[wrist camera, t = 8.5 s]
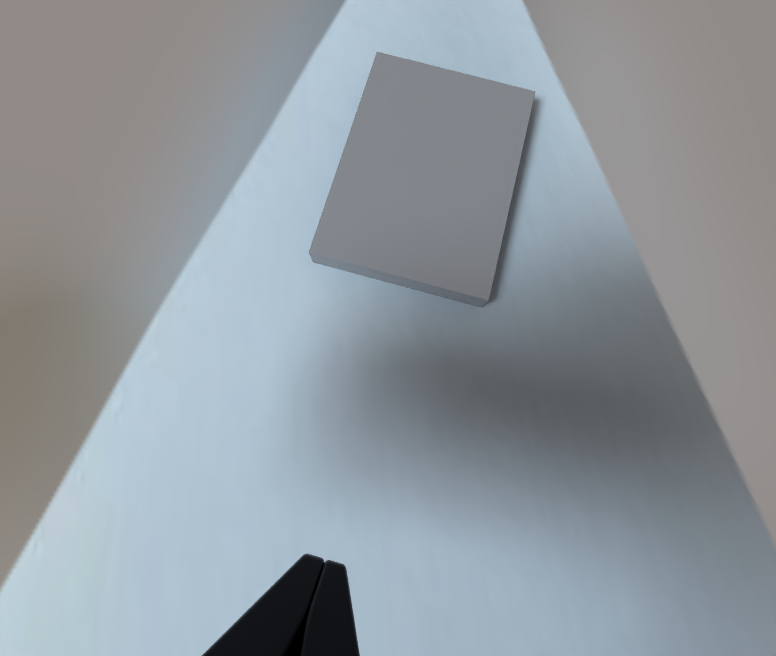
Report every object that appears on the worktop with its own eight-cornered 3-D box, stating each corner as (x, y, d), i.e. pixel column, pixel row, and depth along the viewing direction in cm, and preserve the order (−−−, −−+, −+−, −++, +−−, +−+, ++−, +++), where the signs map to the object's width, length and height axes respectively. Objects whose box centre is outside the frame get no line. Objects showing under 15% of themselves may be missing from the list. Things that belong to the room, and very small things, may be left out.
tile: (488, 300, 17) (535, 91, 19) (308, 252, 17) (377, 51, 19) (479, 309, 18) (523, 115, 21) (314, 265, 19) (377, 78, 21)
